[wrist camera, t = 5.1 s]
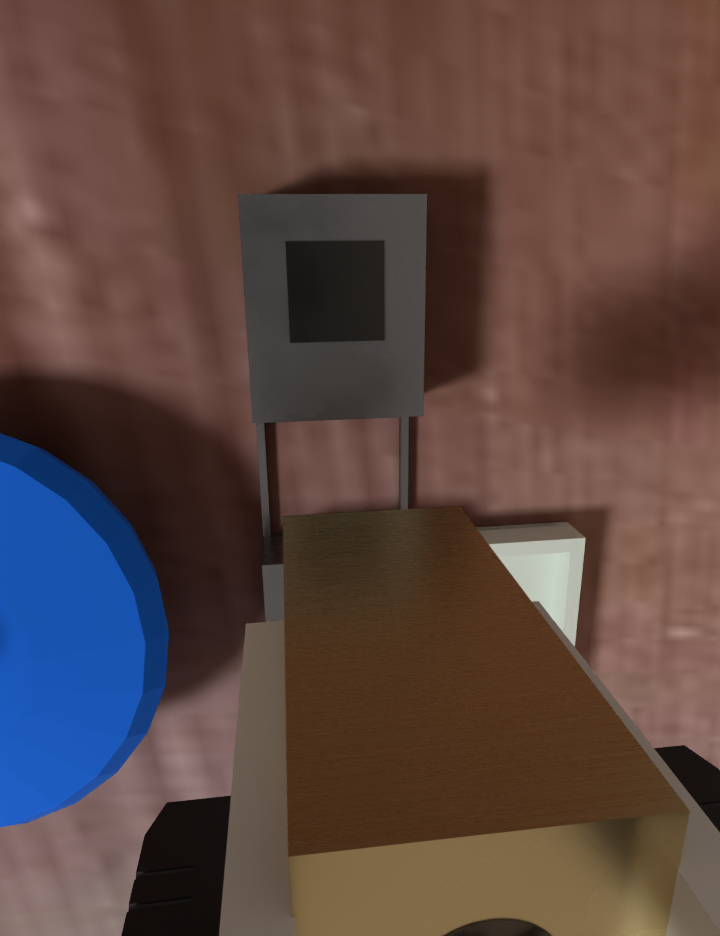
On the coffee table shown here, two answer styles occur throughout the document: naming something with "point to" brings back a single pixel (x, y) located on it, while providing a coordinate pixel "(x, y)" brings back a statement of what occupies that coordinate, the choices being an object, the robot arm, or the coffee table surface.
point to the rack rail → (332, 322)
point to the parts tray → (544, 565)
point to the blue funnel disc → (70, 635)
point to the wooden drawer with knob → (454, 748)
